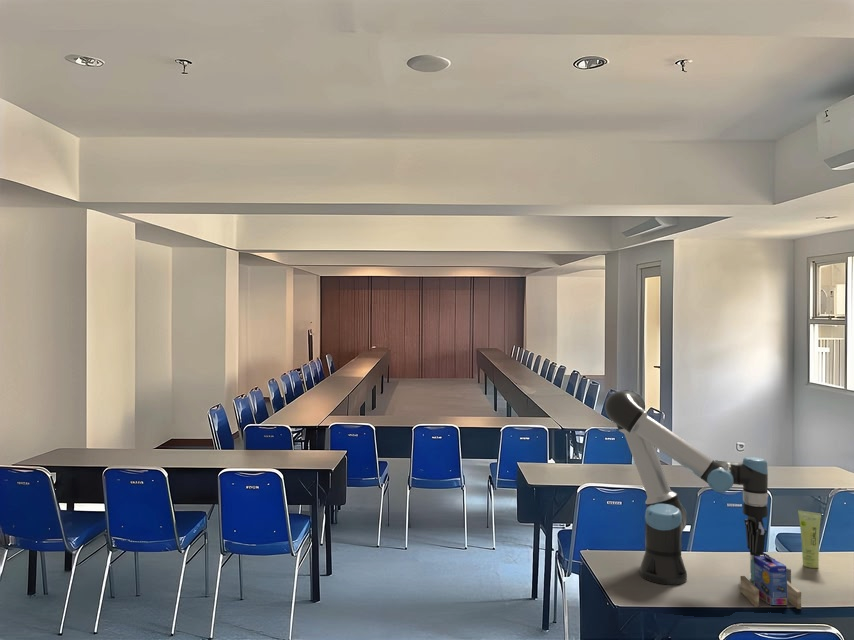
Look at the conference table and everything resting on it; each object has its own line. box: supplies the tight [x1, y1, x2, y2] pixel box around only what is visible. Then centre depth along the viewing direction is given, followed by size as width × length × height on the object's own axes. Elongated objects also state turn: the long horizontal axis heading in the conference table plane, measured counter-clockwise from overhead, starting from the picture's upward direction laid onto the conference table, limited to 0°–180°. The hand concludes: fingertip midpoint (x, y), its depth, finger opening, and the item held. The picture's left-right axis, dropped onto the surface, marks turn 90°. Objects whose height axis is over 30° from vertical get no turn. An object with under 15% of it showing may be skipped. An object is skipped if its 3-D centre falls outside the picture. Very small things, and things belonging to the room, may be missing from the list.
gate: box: [750, 559, 792, 584], centre depth 217 cm, size 13×1×8 cm, turn 32°
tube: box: [797, 509, 822, 569], centre depth 238 cm, size 6×5×20 cm
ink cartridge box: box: [753, 552, 789, 606], centre depth 206 cm, size 10×6×14 cm, turn 4°
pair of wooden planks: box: [739, 575, 802, 610], centre depth 206 cm, size 13×12×5 cm
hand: (755, 573), depth 224 cm, fingers closed
